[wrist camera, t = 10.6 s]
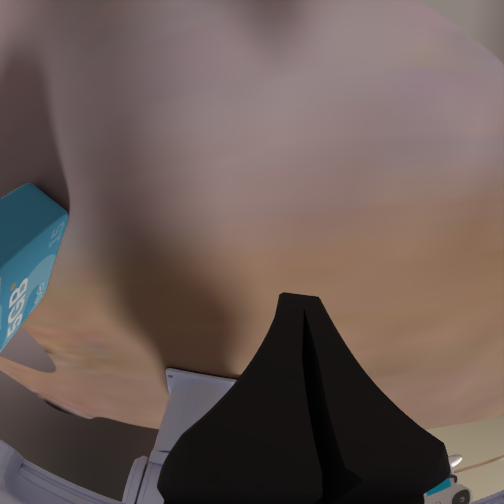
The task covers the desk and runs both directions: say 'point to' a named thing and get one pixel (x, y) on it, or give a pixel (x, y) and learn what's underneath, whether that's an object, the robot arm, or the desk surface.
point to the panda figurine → (449, 489)
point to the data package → (26, 253)
